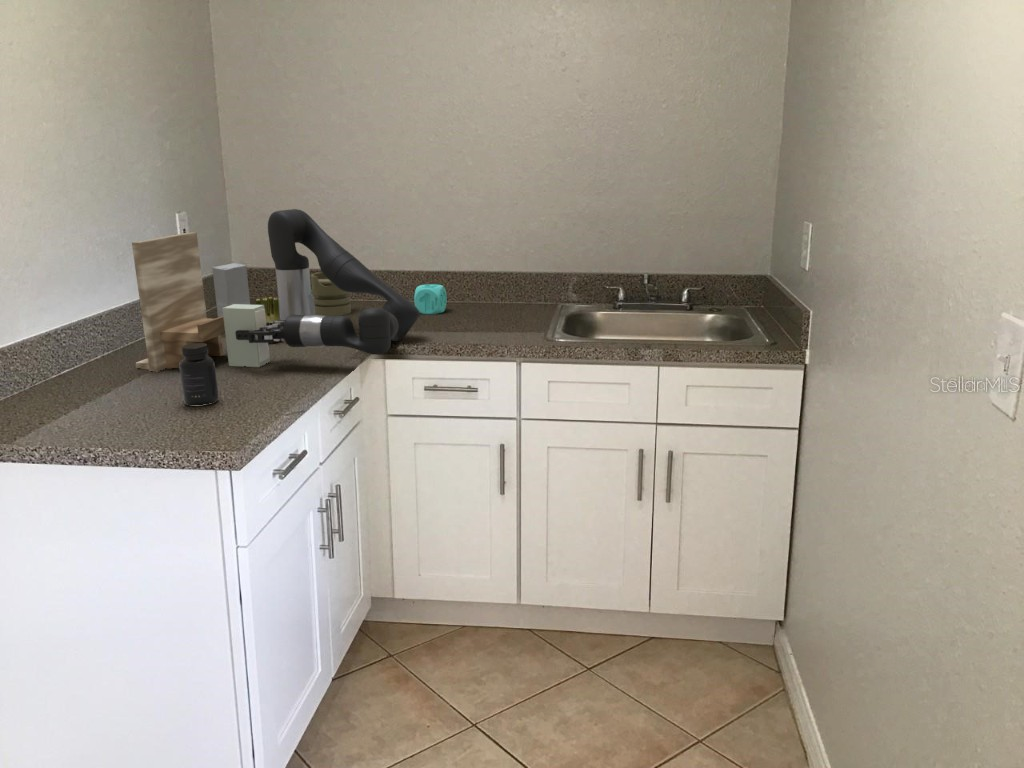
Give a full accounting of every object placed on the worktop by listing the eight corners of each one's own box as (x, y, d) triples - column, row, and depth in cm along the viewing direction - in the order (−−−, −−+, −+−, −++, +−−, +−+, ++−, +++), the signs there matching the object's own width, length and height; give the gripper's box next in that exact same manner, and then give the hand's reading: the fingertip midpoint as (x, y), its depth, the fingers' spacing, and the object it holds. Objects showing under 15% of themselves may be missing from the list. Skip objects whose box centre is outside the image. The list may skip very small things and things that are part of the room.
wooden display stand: (249, 351, 215) (236, 232, 207) (199, 374, 195) (183, 243, 187) (186, 349, 220) (171, 232, 211) (131, 370, 199) (112, 242, 191)
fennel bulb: (257, 343, 225) (252, 298, 222) (268, 339, 229) (264, 295, 226) (276, 344, 223) (271, 299, 220) (286, 340, 227) (282, 296, 224)
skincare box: (238, 312, 266) (233, 262, 262) (253, 315, 262) (248, 264, 258) (215, 317, 260) (210, 265, 255) (230, 320, 256) (224, 267, 251)
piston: (315, 271, 267) (351, 271, 266) (319, 309, 270) (354, 308, 270) (307, 277, 256) (344, 276, 256) (310, 316, 259) (347, 316, 259)
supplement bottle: (189, 398, 177) (182, 342, 173) (222, 396, 177) (216, 340, 174) (179, 408, 170) (172, 350, 167) (214, 406, 171) (207, 348, 167)
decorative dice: (414, 314, 260) (413, 288, 258) (423, 309, 268) (421, 284, 265) (439, 314, 258) (438, 288, 256) (447, 309, 266) (446, 284, 264)
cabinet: (270, 362, 205) (265, 305, 201) (260, 367, 200) (254, 309, 197) (240, 360, 207) (233, 304, 203) (228, 365, 202) (222, 308, 198)
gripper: (296, 354, 191) (232, 353, 195) (323, 339, 205) (263, 339, 208) (292, 321, 189) (227, 321, 193) (320, 309, 203) (259, 309, 206)
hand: (246, 331), depth 201 cm, fingers open, 8 cm apart
